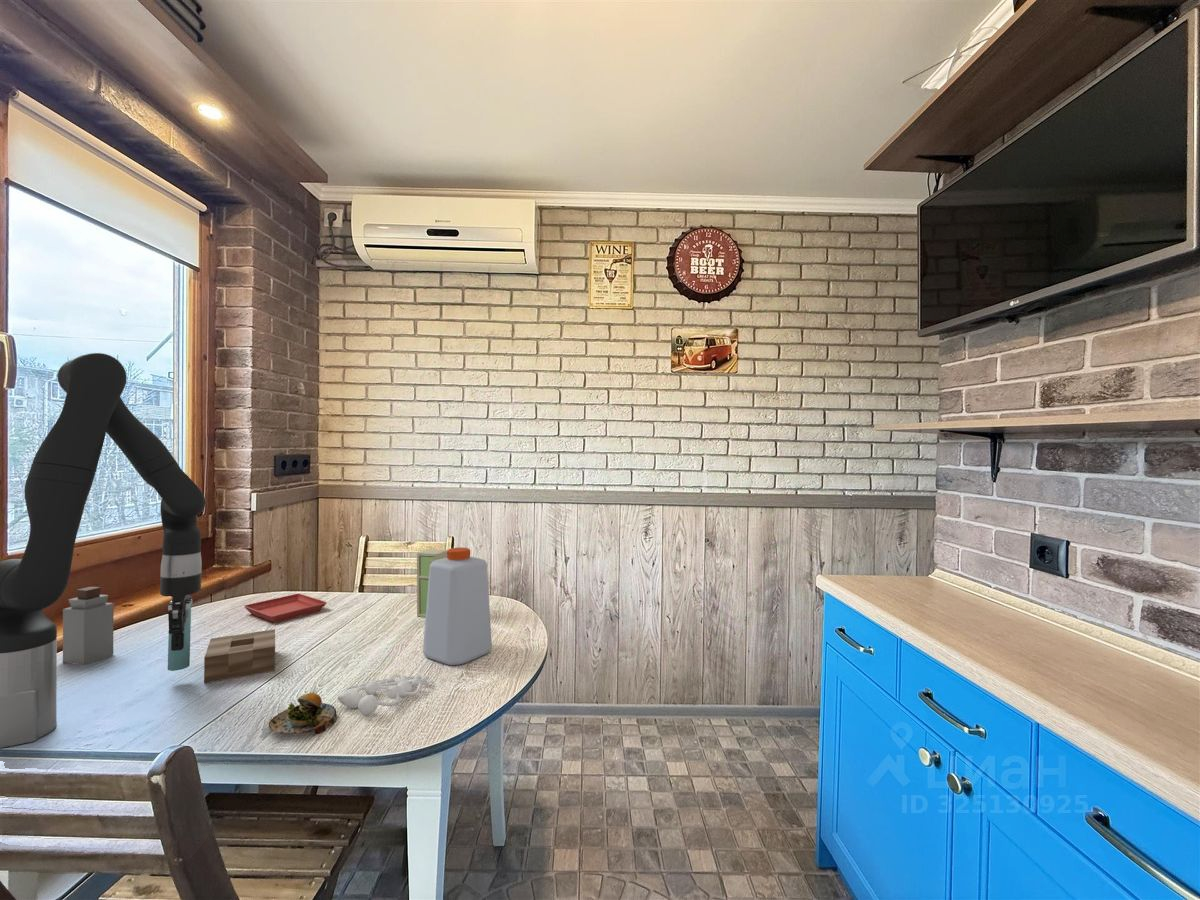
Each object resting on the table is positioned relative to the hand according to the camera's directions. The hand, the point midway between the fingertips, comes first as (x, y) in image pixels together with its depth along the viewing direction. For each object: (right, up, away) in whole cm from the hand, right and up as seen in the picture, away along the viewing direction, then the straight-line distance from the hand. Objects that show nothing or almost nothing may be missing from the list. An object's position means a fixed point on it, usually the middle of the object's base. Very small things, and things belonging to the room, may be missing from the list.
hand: (179, 646), depth 124 cm
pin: (0, -5, 0) cm, 5 cm away
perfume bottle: (-34, -8, +13) cm, 37 cm away
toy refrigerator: (+43, -9, +51) cm, 67 cm away
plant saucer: (-6, -9, +52) cm, 53 cm away
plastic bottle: (+60, -9, +19) cm, 63 cm away
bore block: (+8, -8, +9) cm, 15 cm away
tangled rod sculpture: (+50, -10, -6) cm, 51 cm away
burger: (+39, -10, -18) cm, 44 cm away
